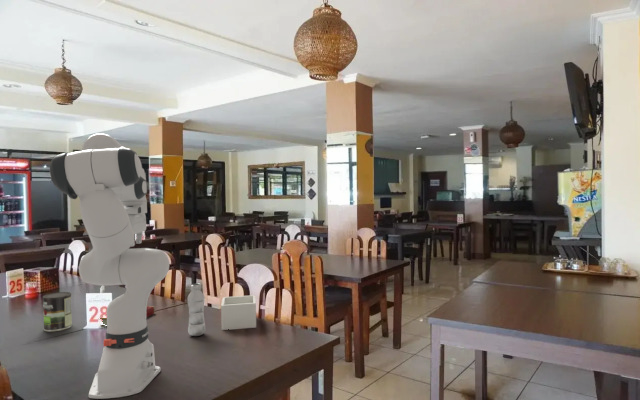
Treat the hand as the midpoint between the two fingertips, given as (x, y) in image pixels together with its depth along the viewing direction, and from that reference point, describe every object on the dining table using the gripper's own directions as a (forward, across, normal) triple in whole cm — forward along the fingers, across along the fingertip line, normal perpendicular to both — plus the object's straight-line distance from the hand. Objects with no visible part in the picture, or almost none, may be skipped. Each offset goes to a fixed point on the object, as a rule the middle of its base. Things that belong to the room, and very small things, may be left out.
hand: (135, 244), depth 158 cm
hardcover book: (+37, -28, -12) cm, 48 cm away
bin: (+36, -11, +38) cm, 54 cm away
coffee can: (+37, -23, -38) cm, 58 cm away
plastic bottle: (+37, 0, +22) cm, 43 cm away
